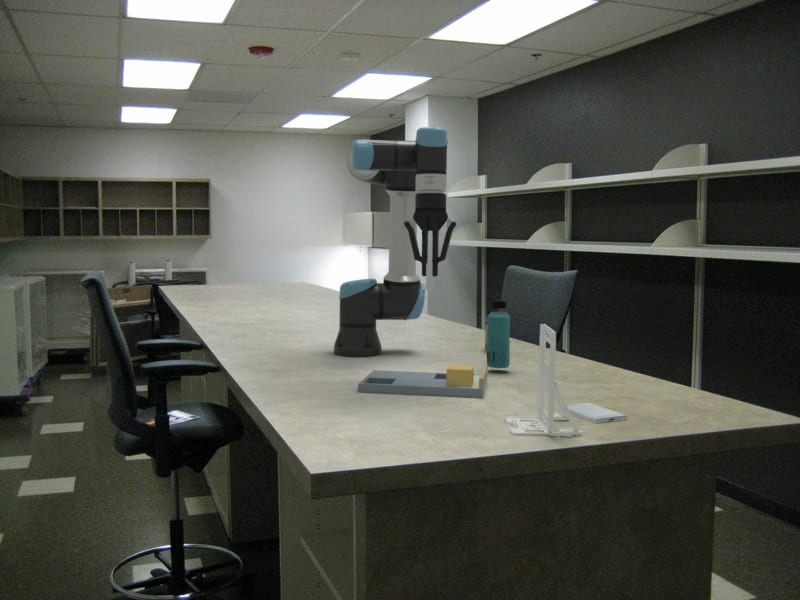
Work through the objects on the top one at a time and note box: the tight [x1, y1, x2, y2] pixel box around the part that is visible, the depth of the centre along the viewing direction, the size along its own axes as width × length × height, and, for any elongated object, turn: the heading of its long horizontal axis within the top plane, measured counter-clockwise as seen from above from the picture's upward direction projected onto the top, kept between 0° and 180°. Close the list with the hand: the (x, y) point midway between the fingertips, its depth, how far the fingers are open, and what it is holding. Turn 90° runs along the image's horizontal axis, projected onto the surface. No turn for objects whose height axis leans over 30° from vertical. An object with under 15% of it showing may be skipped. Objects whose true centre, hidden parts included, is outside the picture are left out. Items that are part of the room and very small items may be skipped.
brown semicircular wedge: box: [484, 318, 488, 353], centre depth 242 cm, size 12×6×10 cm, turn 179°
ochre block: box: [446, 364, 475, 387], centre depth 181 cm, size 6×6×4 cm
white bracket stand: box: [503, 323, 583, 438], centre depth 148 cm, size 14×14×20 cm
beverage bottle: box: [486, 299, 511, 369], centre depth 207 cm, size 6×7×20 cm
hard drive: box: [562, 402, 628, 424], centre depth 160 cm, size 2×8×12 cm
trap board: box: [357, 364, 489, 399], centre depth 186 cm, size 30×18×4 cm, turn 80°
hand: (429, 289), depth 183 cm, fingers closed
